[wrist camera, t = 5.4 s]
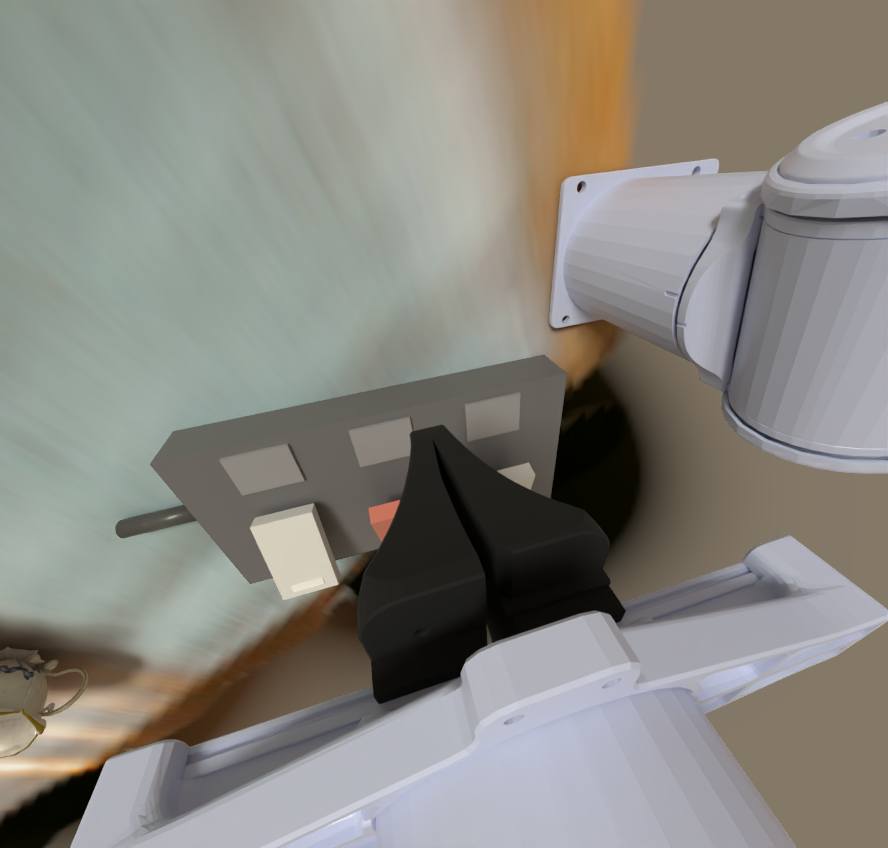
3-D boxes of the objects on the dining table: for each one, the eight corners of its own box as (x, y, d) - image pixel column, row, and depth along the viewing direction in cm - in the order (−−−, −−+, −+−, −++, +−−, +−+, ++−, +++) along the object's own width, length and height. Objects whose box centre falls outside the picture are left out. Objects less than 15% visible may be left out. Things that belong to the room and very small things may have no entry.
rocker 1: (315, 497, 22) (311, 512, 20) (340, 567, 24) (338, 585, 22) (257, 512, 21) (249, 528, 20) (288, 581, 23) (283, 601, 22)
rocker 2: (525, 455, 22) (536, 476, 21) (513, 498, 27) (522, 517, 26) (473, 468, 22) (482, 489, 21) (471, 509, 26) (478, 529, 25)
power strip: (544, 354, 23) (568, 374, 21) (533, 477, 30) (551, 503, 28) (59, 455, 19) (15, 495, 16) (178, 570, 26) (160, 611, 23)
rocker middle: (424, 484, 21) (430, 509, 20) (428, 516, 26) (433, 537, 25) (367, 498, 20) (370, 524, 20) (382, 529, 25) (386, 551, 24)
